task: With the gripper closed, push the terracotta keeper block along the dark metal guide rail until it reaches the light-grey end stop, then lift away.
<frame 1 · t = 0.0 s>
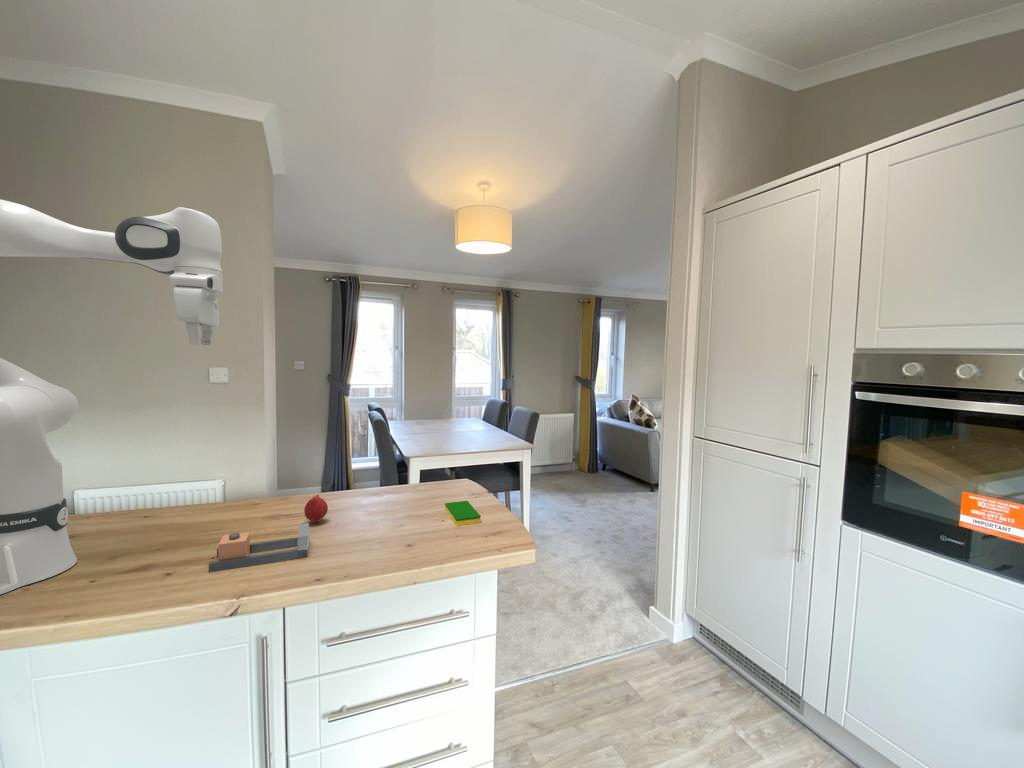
hand: (200, 344, 97), 48 cm above the worktop, fingers open, 8 cm apart
onion: (316, 523, 116), on the worktop
keeper: (234, 560, 94), resting in rail, slide at 0.0 cm
rail: (262, 556, 96), on the worktop
dish sponge: (462, 517, 123), on the worktop
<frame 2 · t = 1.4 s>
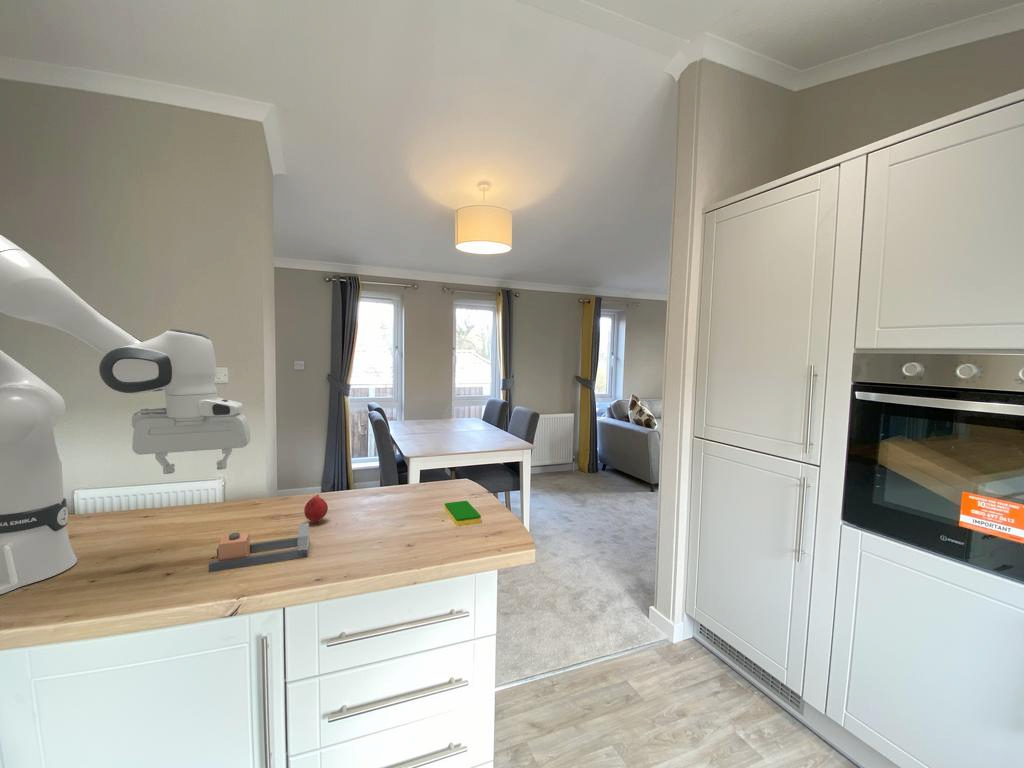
hand: (196, 471, 91), 21 cm above the worktop, fingers open, 8 cm apart
nothing on the worktop moved.
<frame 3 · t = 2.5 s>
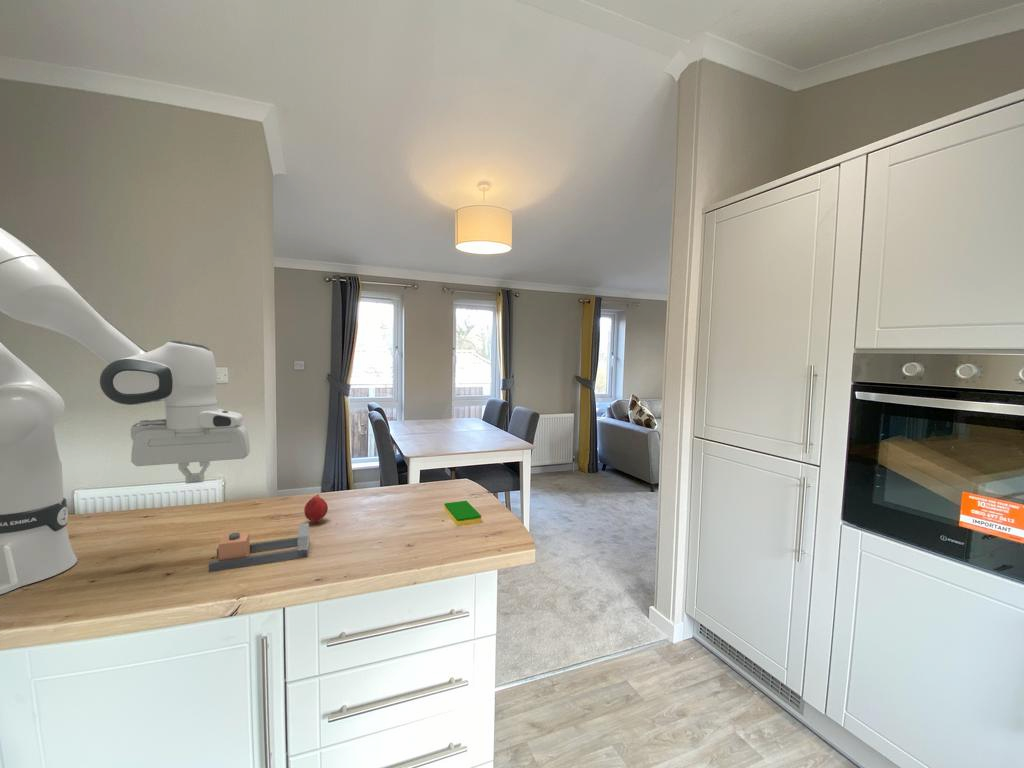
hand: (195, 482, 90), 18 cm above the worktop, fingers closed
nothing on the worktop moved.
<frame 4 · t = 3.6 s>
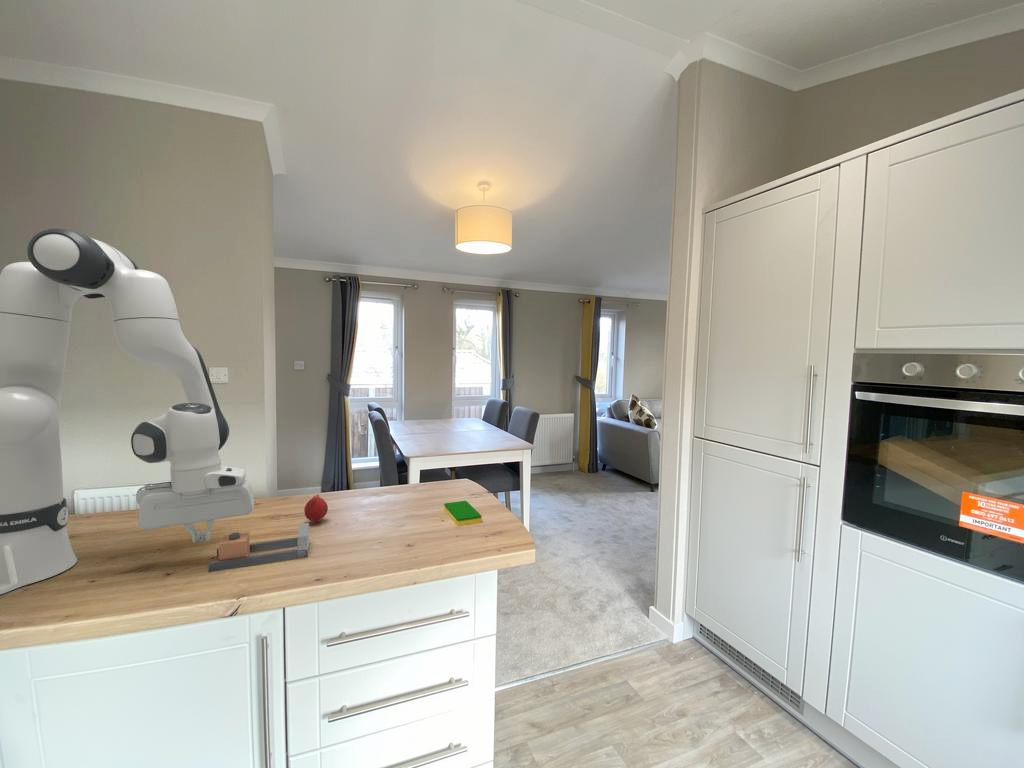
hand: (201, 540, 92), 5 cm above the worktop, fingers closed
nothing on the worktop moved.
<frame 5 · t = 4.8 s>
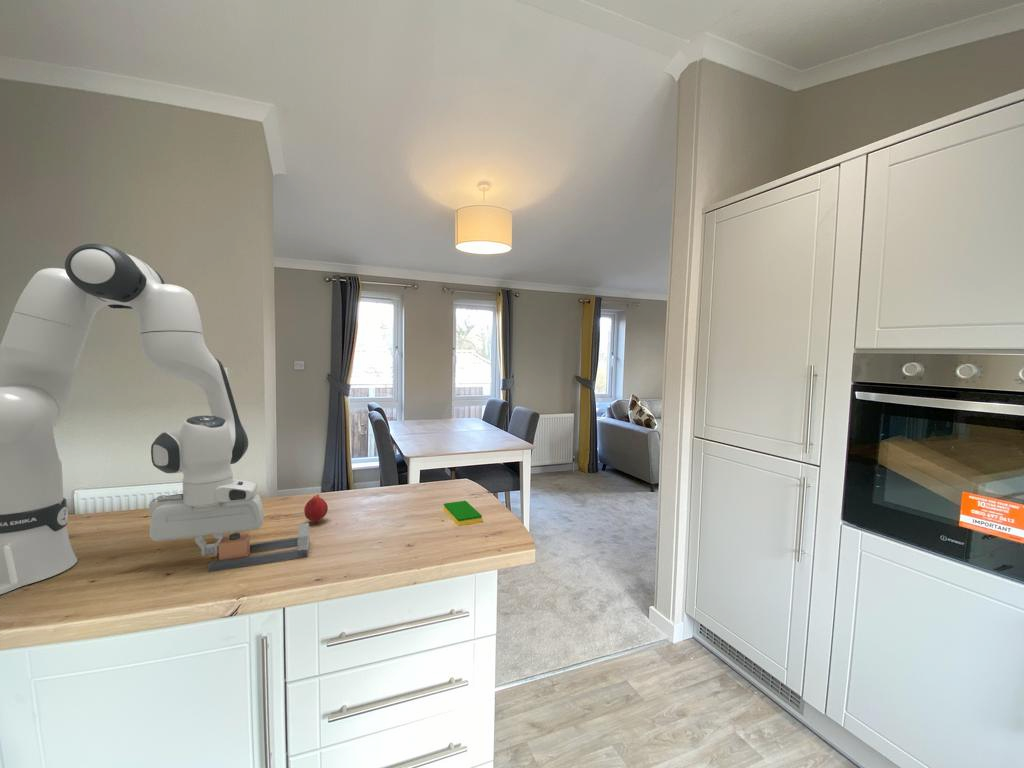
hand: (210, 553, 92), 2 cm above the worktop, fingers closed
keeper: (235, 560, 94), resting in rail, slide at 0.1 cm, touching gripper
everything else where it was.
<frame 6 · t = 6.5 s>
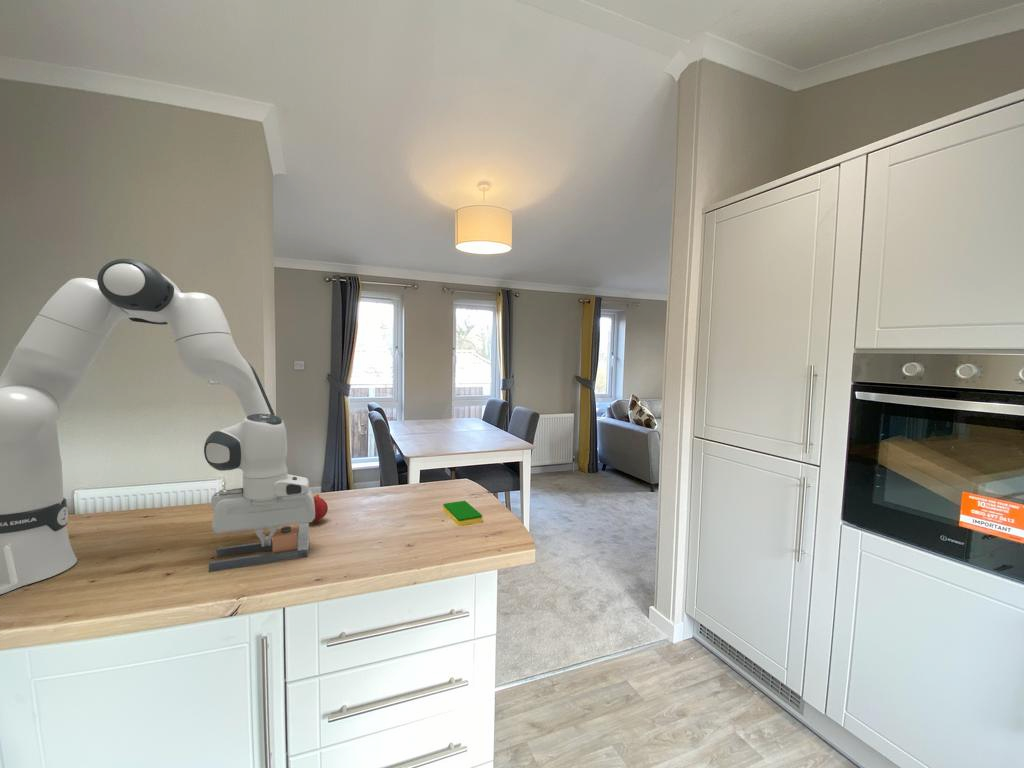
hand: (266, 545, 97), 2 cm above the worktop, fingers closed
keeper: (286, 552, 98), resting in rail, slide at 10.2 cm, touching gripper
everything else where it was.
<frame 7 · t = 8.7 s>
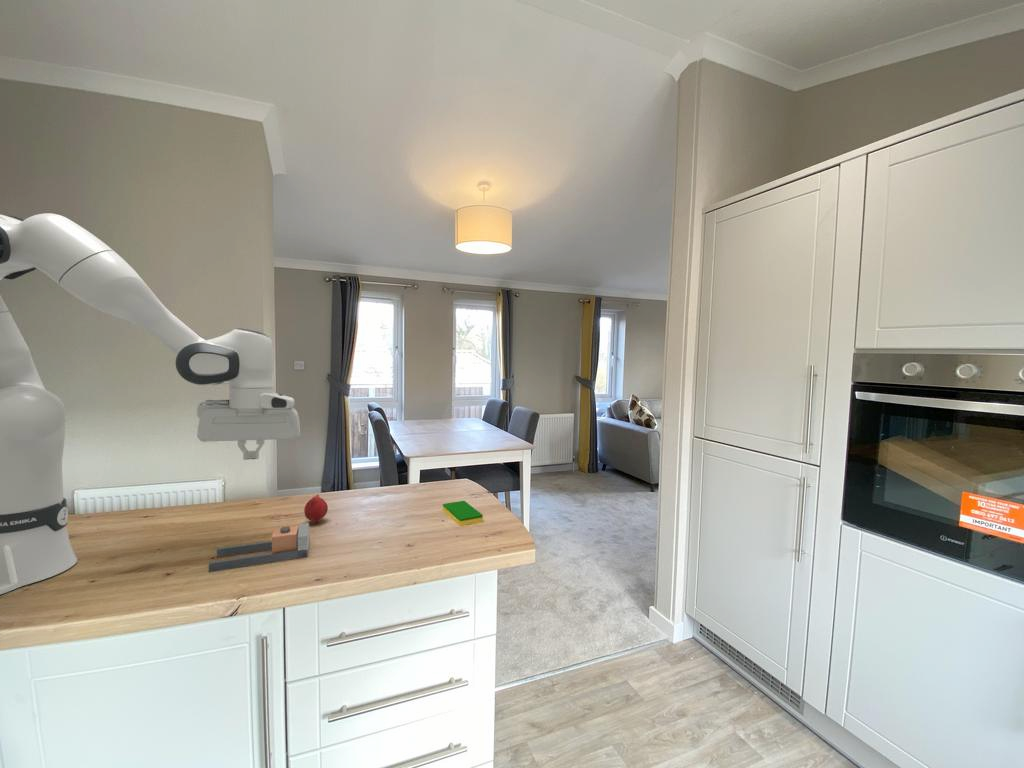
hand: (251, 459, 98), 22 cm above the worktop, fingers closed
keeper: (285, 552, 98), resting in rail, slide at 10.0 cm
everything else where it was.
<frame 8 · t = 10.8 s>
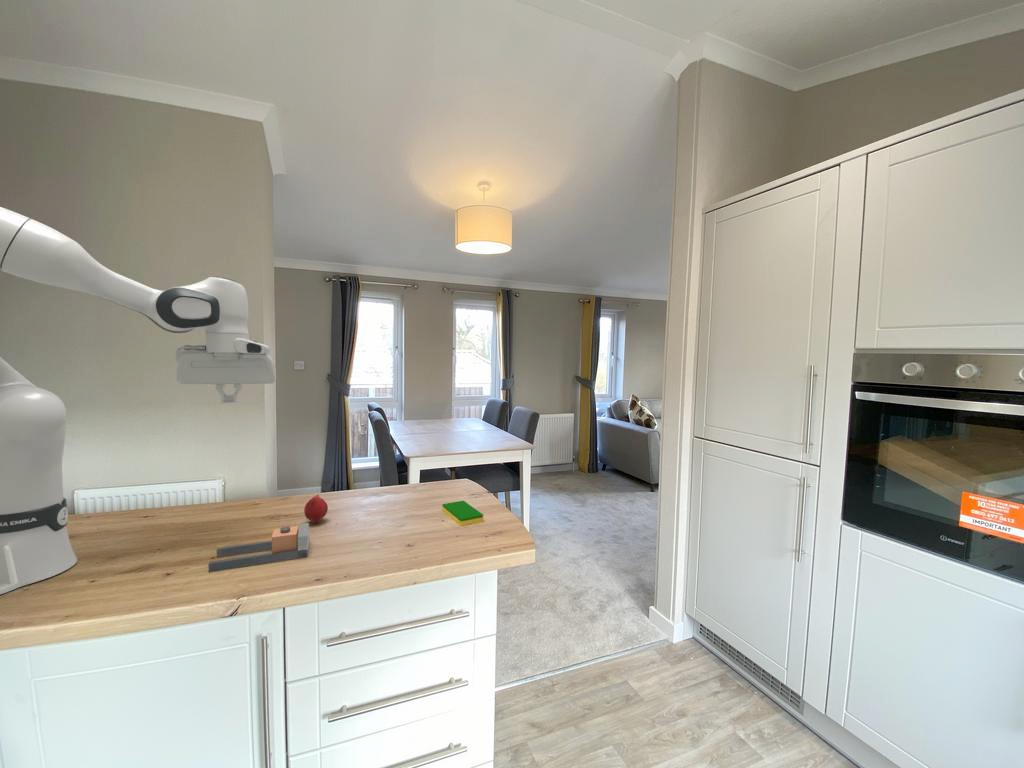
hand: (229, 402, 104), 34 cm above the worktop, fingers closed
nothing on the worktop moved.
at the end: keeper slide at 10.0 cm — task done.
